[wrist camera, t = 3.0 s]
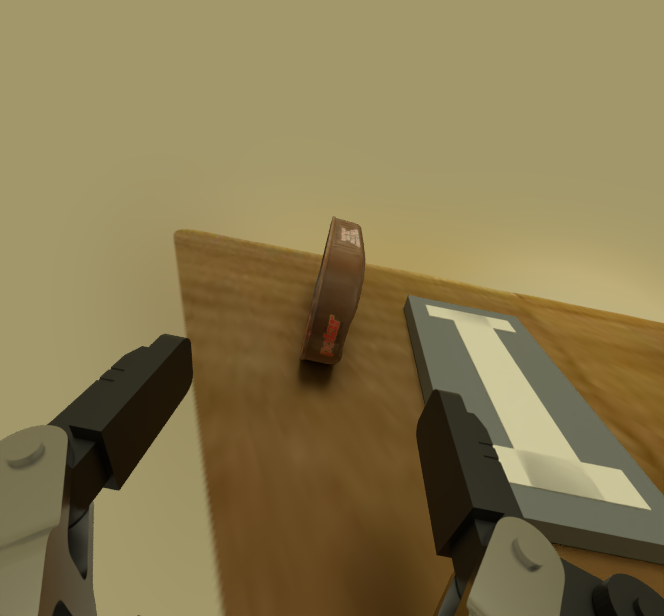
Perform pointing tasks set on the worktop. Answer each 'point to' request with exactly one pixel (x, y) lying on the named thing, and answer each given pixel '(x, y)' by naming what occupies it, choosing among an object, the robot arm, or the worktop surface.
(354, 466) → the worktop surface
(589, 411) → the letter board
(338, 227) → the tin
